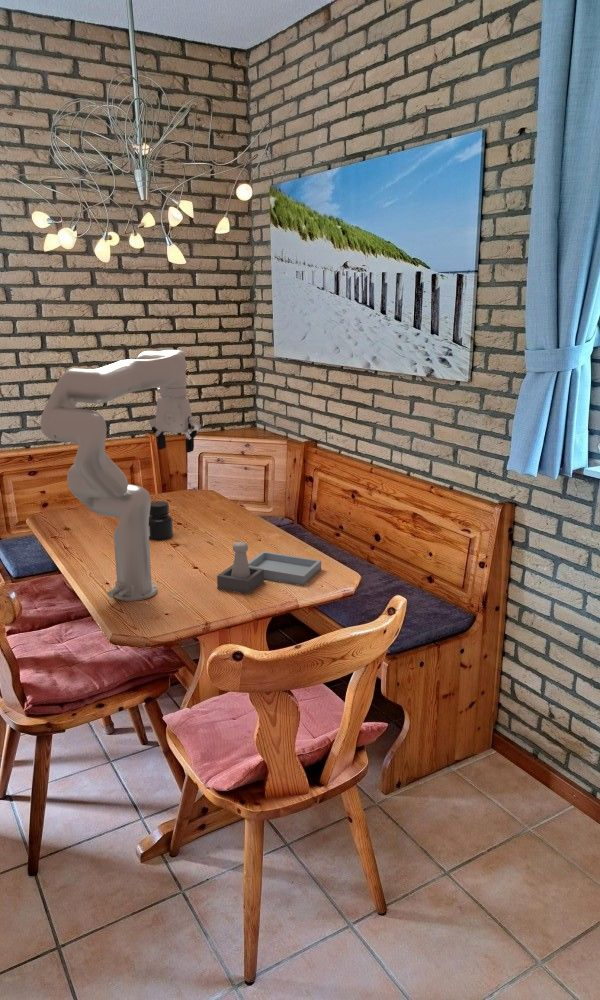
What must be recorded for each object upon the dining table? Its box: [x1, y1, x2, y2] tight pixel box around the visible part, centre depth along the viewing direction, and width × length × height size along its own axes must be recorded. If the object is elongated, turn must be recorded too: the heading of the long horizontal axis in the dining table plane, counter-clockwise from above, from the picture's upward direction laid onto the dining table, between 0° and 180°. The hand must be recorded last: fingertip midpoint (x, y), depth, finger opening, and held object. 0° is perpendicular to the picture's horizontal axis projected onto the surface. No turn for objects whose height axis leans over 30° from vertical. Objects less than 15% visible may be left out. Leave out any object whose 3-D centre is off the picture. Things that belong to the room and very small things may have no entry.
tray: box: [248, 550, 322, 587], centre depth 217 cm, size 14×20×3 cm
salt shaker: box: [231, 541, 251, 579], centre depth 205 cm, size 6×6×13 cm
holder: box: [216, 564, 265, 595], centre depth 207 cm, size 10×10×4 cm
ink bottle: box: [149, 500, 174, 541], centre depth 247 cm, size 10×9×12 cm
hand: (175, 450), depth 212 cm, fingers open, 9 cm apart
